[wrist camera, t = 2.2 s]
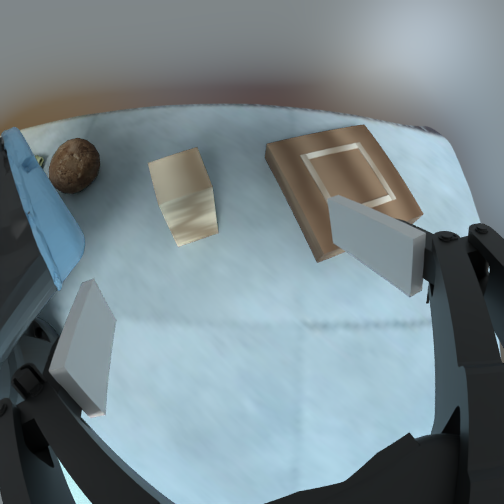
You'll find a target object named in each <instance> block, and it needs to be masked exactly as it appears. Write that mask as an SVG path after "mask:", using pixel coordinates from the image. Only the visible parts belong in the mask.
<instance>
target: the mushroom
mask: <svg viewBox="0 0 504 504" xmlns="http://www.w3.org/2000/svg"><path fill="white" fill-rule="evenodd" d="M99 168H100V157H99V153H98V151H97V150H96V148H95V146H94V145H93V144H91V143H90V142H89V141H87V140H85V139H80V138H75V139H71V140H68V141H66V142H65V143H64V144H62V145H61V146H60V147H59V148H58V150H57V151H56V152H55V154H54V155H53V157H52V160H51V163H50V166H49V179H50V181H51V183H52V184H53V186H54V187H55V188H56V189H58V190H59V191H61V192H62V193H69V194H74V193H76V192H79V191H81V190H83V189H84V188H86V187H87V186H88V185H89V184H91V182H92V181H93V180H94V179H95V178H96V176H97V175H98V171H99Z"/></svg>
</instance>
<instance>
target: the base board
mask: <svg viewBox="0 0 504 504" xmlns="http://www.w3.org/2000/svg"><path fill="white" fill-rule="evenodd" d="M265 159H266V161H267V163H268V165H269V167H270V169H271V171H272V172H273V174H274V176H275V178H276V180H277V182H278V184H279V186H280V188H281V190H282V192H283V194H284V196H285V198H286V200H287V202H288V204H289V206H290V208H291V210H292V212H293V214H294V216H295V218H296V220H297V222H298V224H299V226H300V228H301V230H302V232H303V234H304V236H305V238H306V240H307V242H308V245H309V247H310V249H311V251H312V253H313V255H314V257H315V259H316V261H317V263H318V262H321V261H323V260H326V259H328V258H331V257H333V256H336V255H338V254H341V253H343V252H346V251H344V250H343V249H341V248H340V247H338V246H337V245H335V244H334V243H333V238H332V230H331V222H330V215H329V208H328V201H327V198H330V197H333V196H337V195H340V196H342V197H345V198H347V199H350V200H352V201H355V202H357V203H360V204H362V205H365V206H367V207H369V208H372V209H374V210H376V211H379V212H381V213H383V214H386V215H388V216H390V217H392V218H396V219H401V220H404V221H406V222H408V223H410V224H413V223H414V222H415V221H416V220H417V219H419V218H420V217H421V216H422V215H423V212H422V211H421V209H420V207H419V205H418V204H417V202H416V200H415V199H414V197H413V195H412V194H411V192H410V190H409V189H408V187H407V185H406V184H405V182H404V181H403V179H402V177H401V176H400V174H399V173H398V171H397V170H396V168H395V167H394V165H393V164H392V162H391V161H390V159H389V158H388V156H387V155H386V153H385V152H384V151H383V149H382V148H381V146H380V145H379V144H378V142H377V141H376V139H375V138H374V137H373V135H372V134H371V133H370V131H369V130H368V129H367V127H366V126H365V125H357V126H351V127H345V128H340V129H334V130H329V131H323V132H318V133H313V134H308V135H303V136H299V137H294V138H290V139H285V140H281V141H276V142H272V143H268V144H267V146H266V153H265Z"/></svg>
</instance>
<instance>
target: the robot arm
mask: <svg viewBox="0 0 504 504" xmlns="http://www.w3.org/2000/svg"><path fill="white" fill-rule="evenodd" d="M1 136H2V137H1V138H0V492H1V497H2V501H3V504H76V503H75V501H74V499H73V496H72V494H71V492H70V489H69V487H68V485H67V482H66V480H65V477H64V474H63V472H62V469H61V466H60V463H59V461H58V459H59V460H60V462H61V463H62V465H63V466H64V468H65V469H66V470H67V472H68V473H69V475H70V476H71V477H72V479H73V480H74V481H75V483H76V484H77V485H78V487H79V488H80V489H81V490H82V492H83V493H84V494H85V495H86V497H87V498H88V499H89V500H90V501H91V503H92V504H175V503H173V502H172V501H171V500H169V499H168V498H167V497H165V496H164V495H163V494H162V493H160V492H159V491H158V490H156V489H155V488H154V487H153V486H151V485H150V484H149V483H148V482H147V481H145V480H144V479H143V478H142V477H141V476H140V475H138V474H137V473H136V472H135V471H134V470H133V469H132V468H131V467H129V466H128V465H127V464H126V463H125V462H124V461H123V460H122V459H121V458H120V457H119V456H118V455H117V454H116V453H115V452H114V451H113V450H112V449H111V448H110V447H109V446H108V445H107V444H106V443H105V442H104V441H103V440H102V439H101V438H100V437H99V436H98V435H97V434H96V433H95V432H94V431H93V429H92V428H91V427H90V426H89V425H88V424H87V423H86V422H85V421H84V420H83V419H82V418H81V412H82V410H83V411H84V412H85V413H86V414H87V415H88V416H89V417H90V418H92V417H98V416H103V415H106V401H107V389H108V378H109V369H110V360H111V353H112V345H113V338H114V331H115V325H116V319H115V317H114V315H113V313H112V312H111V310H110V308H109V306H108V304H107V302H106V301H105V299H104V297H103V295H102V293H101V291H100V289H99V287H98V285H97V283H96V281H95V279H91V280H88V281H86V282H83V283H82V284H81V286H80V289H79V291H78V293H77V296H76V298H75V300H74V303H73V305H72V307H71V310H70V312H69V315H68V317H67V320H66V322H65V325H64V328H63V330H62V333H61V336H60V337H59V336H58V334H57V333H56V332H55V330H54V329H53V328H52V327H51V326H50V325H49V324H48V323H46V322H45V321H44V320H42V319H40V318H38V317H36V316H37V315H38V313H39V312H40V311H41V309H42V308H43V307H44V306H45V304H46V303H47V302H48V300H49V299H50V298H51V297H52V295H53V294H54V293H55V292H56V290H58V291H59V290H60V289H61V288H62V282H63V281H64V280H65V278H66V277H67V276H68V275H69V273H70V272H71V271H72V269H73V268H74V267H75V266H76V264H77V263H78V262H79V260H80V259H81V257H82V255H83V253H84V247H85V239H84V235H83V232H82V230H81V229H80V227H79V225H78V224H77V222H76V220H75V219H74V217H73V216H72V214H71V213H70V211H69V210H68V208H67V207H66V205H65V203H64V202H63V200H62V199H61V197H60V196H59V194H58V193H57V191H56V190H55V188H54V186H53V185H52V183H51V182H50V180H49V178H48V177H47V175H46V174H45V172H44V171H43V169H42V167H41V166H40V165H39V163H38V161H37V159H36V158H35V156H34V154H33V153H32V151H31V149H30V147H29V145H28V143H27V142H26V140H25V138H24V137H23V135H22V133H21V132H20V130H19V129H18V128H16V127H13V128H11V129H9V130H5V131H4V132H3V133H2V134H1ZM327 201H328V208H329V215H330V222H331V230H332V238H333V243H334V244H335V245H337V246H338V247H340V248H341V249H343V250H344V251H346V252H347V253H349V254H350V255H352V256H353V257H354V258H356V259H357V260H359V261H360V262H362V263H363V264H364V265H366V266H367V267H369V268H370V269H371V270H373V271H374V272H376V273H377V274H378V275H380V276H381V277H383V278H384V279H385V280H387V281H388V282H390V283H391V284H392V285H394V286H395V287H396V288H398V289H399V290H401V291H402V292H403V293H405V294H406V295H407V296H409V297H411V296H413V295H415V294H417V293H418V292H420V291H422V284H423V278H424V279H425V280H427V281H428V282H429V286H428V294H427V302H426V303H429V300H430V308H431V317H432V327H433V339H434V355H435V419H434V424H433V428H432V431H431V435H426V436H422V437H419V438H416V439H414V438H413V436H412V435H411V434H410V433H408V434H406V435H405V436H403V437H402V438H400V439H399V440H397V441H396V442H394V443H393V444H391V445H390V446H388V447H386V448H385V449H383V450H381V451H380V452H378V453H377V454H376V455H374V456H373V457H372V458H371V459H370V460H369V461H368V462H367V463H366V464H365V465H364V466H362V467H361V468H360V469H359V470H358V471H357V472H356V473H354V474H353V475H352V476H351V477H350V478H348V479H347V480H346V481H344V482H341V483H337V484H333V485H329V486H324V487H320V488H315V489H310V490H304V491H299V492H296V493H293V494H291V495H288V496H285V497H283V498H280V499H277V500H274V501H271V502H268V503H265V504H504V363H502V361H501V357H500V353H499V349H498V344H497V340H496V337H495V333H496V335H497V337H498V339H499V340H500V342H501V344H502V346H503V348H504V239H503V238H502V237H501V236H500V235H499V234H498V233H497V232H496V231H494V230H493V229H492V228H491V227H489V226H487V225H485V224H481V223H478V224H473V225H471V226H469V233H468V236H465V237H461V238H460V237H459V236H458V235H457V234H455V233H453V232H449V231H440V232H437V233H435V234H432V233H430V232H428V231H426V230H424V229H421V228H419V227H416V226H415V225H413V224H410V223H408V222H406V221H404V220H401V219H396V218H392V217H390V216H388V215H386V214H383V213H381V212H379V211H376V210H374V209H372V208H369V207H367V206H365V205H362V204H360V203H357V202H355V201H352V200H350V199H347V198H345V197H342V196H340V195H337V196H333V197H330V198H327ZM488 268H490V273H489V272H488ZM494 331H495V333H494ZM57 457H58V458H57Z"/></svg>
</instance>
